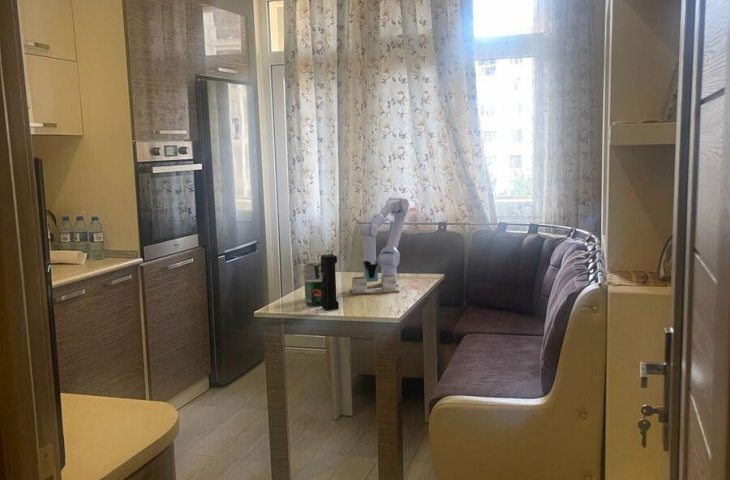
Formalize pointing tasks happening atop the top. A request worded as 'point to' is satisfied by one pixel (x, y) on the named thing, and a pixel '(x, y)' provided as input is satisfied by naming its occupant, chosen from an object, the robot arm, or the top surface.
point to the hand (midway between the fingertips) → (370, 277)
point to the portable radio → (328, 282)
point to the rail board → (361, 288)
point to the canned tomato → (313, 292)
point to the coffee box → (312, 272)
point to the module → (368, 275)
